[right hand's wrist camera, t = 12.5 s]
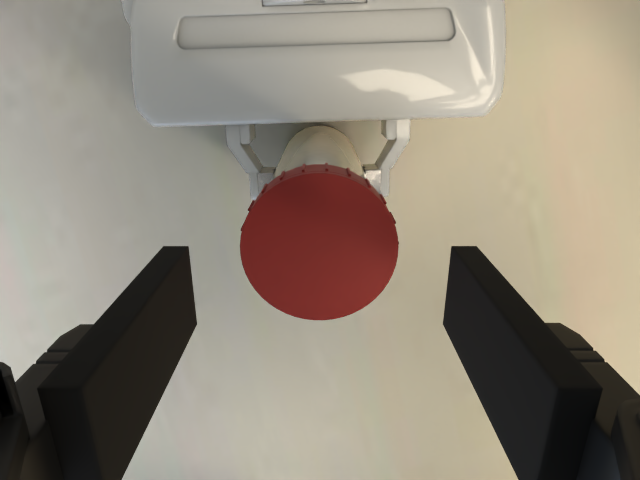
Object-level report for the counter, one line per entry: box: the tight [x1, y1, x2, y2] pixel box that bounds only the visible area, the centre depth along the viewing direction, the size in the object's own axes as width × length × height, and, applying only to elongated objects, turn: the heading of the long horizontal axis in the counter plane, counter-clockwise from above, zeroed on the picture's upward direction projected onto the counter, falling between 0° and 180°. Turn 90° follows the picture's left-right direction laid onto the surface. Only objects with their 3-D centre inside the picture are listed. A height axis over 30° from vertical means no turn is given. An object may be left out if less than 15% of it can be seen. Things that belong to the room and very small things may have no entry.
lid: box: [240, 163, 399, 320], centre depth 18 cm, size 6×6×2 cm
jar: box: [270, 125, 367, 182], centre depth 26 cm, size 6×6×17 cm
